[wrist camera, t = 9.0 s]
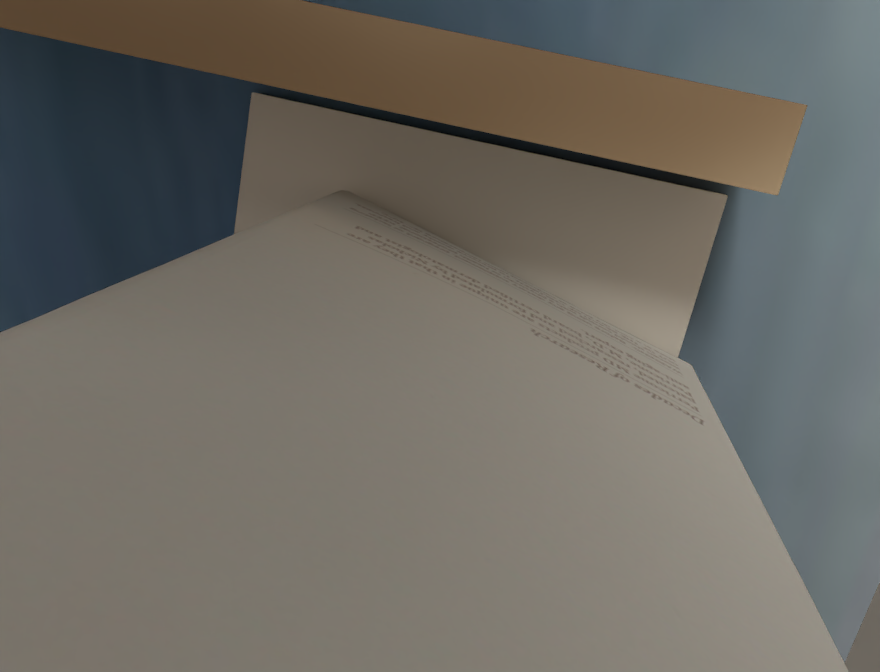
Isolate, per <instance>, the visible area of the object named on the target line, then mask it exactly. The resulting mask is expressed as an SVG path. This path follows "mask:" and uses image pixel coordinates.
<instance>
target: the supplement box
mask: <svg viewBox="0 0 880 672" xmlns="http://www.w3.org/2000/svg"><path fill="white" fill-rule="evenodd" d="M0 672H849V671H848V669H847V667H846V665H845V663H844V661H843V660H842V658H841V656H840V654H839V652H838V650H837V648H836V646H835V644H834V642H833V640H832V638H831V636H830V634H829V632H828V630H827V628H826V626H825V624H824V622H823V620H822V618H821V616H820V614H819V612H818V610H817V608H816V606H815V604H814V602H813V600H812V598H811V596H810V594H809V592H808V590H807V588H806V586H805V584H804V582H803V580H802V578H801V576H800V574H799V573H798V571H797V569H796V567H795V565H794V563H793V562H792V560H791V558H790V556H789V554H788V552H787V550H786V548H785V546H784V544H783V542H782V540H781V538H780V536H779V534H778V532H777V530H776V528H775V526H774V524H773V522H772V520H771V518H770V516H769V515H768V513H767V511H766V509H765V507H764V505H763V503H762V501H761V499H760V497H759V495H758V493H757V491H756V489H755V488H754V486H753V484H752V482H751V480H750V478H749V476H748V474H747V472H746V470H745V468H744V466H743V464H742V462H741V460H740V459H739V457H738V455H737V453H736V451H735V449H734V447H733V445H732V443H731V441H730V439H729V437H728V435H727V433H726V432H725V430H724V428H723V426H722V424H721V422H720V420H719V418H718V416H717V414H716V412H715V410H714V408H713V406H712V404H711V402H710V400H709V398H708V396H707V394H706V392H705V390H704V389H703V387H702V385H701V383H700V381H699V379H698V377H697V375H696V373H695V371H694V369H693V367H692V365H691V364H689V363H687V362H685V361H683V360H681V359H679V358H677V357H675V356H673V355H671V354H669V353H667V352H665V351H663V350H661V349H659V348H657V347H655V346H653V345H651V344H649V343H647V342H646V341H644V340H642V339H640V338H638V337H636V336H634V335H632V334H630V333H628V332H626V331H624V330H622V329H620V328H618V327H616V326H614V325H612V324H610V323H608V322H606V321H604V320H602V319H600V318H598V317H596V316H594V315H592V314H590V313H588V312H586V311H584V310H582V309H580V308H578V307H576V306H574V305H573V304H571V303H569V302H567V301H565V300H563V299H562V298H560V297H558V296H556V295H553V294H551V293H549V292H547V291H545V290H543V289H541V288H539V287H537V286H535V285H533V284H531V283H529V282H527V281H525V280H523V279H521V278H519V277H517V276H515V275H513V274H511V273H510V272H508V271H506V270H504V269H502V268H500V267H497V266H495V265H493V264H491V263H490V262H488V261H486V260H484V259H482V258H480V257H478V256H476V255H474V254H472V253H470V252H468V251H466V250H464V249H462V248H460V247H458V246H456V245H454V244H452V243H450V242H448V241H446V240H445V239H443V238H441V237H439V236H437V235H435V234H433V233H431V232H429V231H427V230H425V229H423V228H421V227H419V226H417V225H415V224H413V223H411V222H409V221H407V220H405V219H403V218H401V217H399V216H397V215H396V214H394V213H392V212H390V211H388V210H386V209H384V208H382V207H380V206H378V205H376V204H374V203H372V202H369V201H367V200H365V199H363V198H361V197H359V196H357V195H355V194H353V193H351V192H349V191H344V190H340V191H337V192H334V193H332V194H330V195H327V196H325V197H323V198H320V199H318V200H316V201H313V202H311V203H308V204H305V205H303V206H300V207H298V208H295V209H293V210H291V211H288V212H286V213H284V214H281V215H279V216H277V217H274V218H272V219H270V220H268V221H265V222H263V223H260V224H258V225H255V226H253V227H251V228H248V229H246V230H244V231H241V232H239V233H236V234H234V235H232V236H229V237H227V238H224V239H222V240H220V241H217V242H215V243H212V244H210V245H208V246H205V247H203V248H200V249H198V250H196V251H193V252H191V253H189V254H187V255H184V256H182V257H179V258H177V259H175V260H172V261H170V262H168V263H165V264H163V265H161V266H158V267H156V268H153V269H151V270H148V271H146V272H143V273H141V274H139V275H136V276H134V277H131V278H129V279H127V280H124V281H122V282H119V283H117V284H114V285H112V286H109V287H107V288H105V289H102V290H100V291H97V292H95V293H93V294H90V295H88V296H85V297H83V298H81V299H78V300H76V301H74V302H71V303H69V304H67V305H64V306H62V307H60V308H58V309H55V310H53V311H51V312H48V313H46V314H44V315H42V316H39V317H37V318H34V319H32V320H29V321H27V322H24V323H22V324H20V325H17V326H15V327H12V328H10V329H7V330H5V331H2V332H0Z"/></svg>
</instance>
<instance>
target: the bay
mask: <svg viewBox="0 0 880 672" xmlns="http://www.w3.org/2000/svg"><path fill="white" fill-rule="evenodd" d="M0 27H1V28H5V29H10V30H15V31H19V32H24V33H28V34H33V35H38V36H42V37H47V38H52V39H56V40H61V41H65V42H70V43H75V44H79V45H84V46H89V47H93V48H98V49H102V50H107V51H112V52H116V53H121V54H126V55H130V56H135V57H139V58H144V59H149V60H153V61H158V62H163V63H167V64H172V65H176V66H181V67H186V68H190V69H195V70H200V71H204V72H209V73H213V74H218V75H223V76H227V77H232V78H237V79H241V80H246V81H250V82H255V83H260V84H264V85H269V86H274V87H278V88H283V89H287V90H292V91H297V92H301V93H306V94H311V95H315V96H320V97H324V98H329V99H334V100H338V101H343V102H348V103H352V104H357V105H361V106H366V107H371V108H375V109H380V110H385V111H389V112H394V113H398V114H403V115H408V116H412V117H417V118H422V119H426V120H431V121H435V122H440V123H445V124H449V125H454V126H459V127H463V128H468V129H472V130H477V131H482V132H486V133H491V134H496V135H500V136H505V137H509V138H514V139H519V140H523V141H528V142H533V143H537V144H542V145H546V146H551V147H556V148H560V149H565V150H570V151H574V152H579V153H583V154H588V155H593V156H597V157H602V158H607V159H611V160H616V161H621V162H625V163H630V164H634V165H639V166H644V167H648V168H653V169H658V170H662V171H667V172H671V173H676V174H681V175H685V176H690V177H695V178H699V179H704V180H708V181H713V182H718V183H722V184H727V185H732V186H736V187H741V188H745V189H750V190H755V191H759V192H764V193H769V194H773V195H778V193H779V190H780V187H781V184H782V181H783V178H784V175H785V172H786V169H787V166H788V163H789V160H790V157H791V154H792V151H793V148H794V145H795V142H796V139H797V136H798V133H799V129H800V126H801V123H802V120H803V117H804V114H805V111H806V108H807V105H804V104H799V103H794V102H789V101H784V100H780V99H775V98H770V97H765V96H760V95H755V94H751V93H746V92H741V91H736V90H731V89H727V88H722V87H717V86H712V85H707V84H702V83H698V82H693V81H688V80H683V79H678V78H674V77H669V76H664V75H659V74H654V73H649V72H645V71H640V70H635V69H630V68H625V67H621V66H616V65H611V64H606V63H601V62H596V61H592V60H587V59H582V58H577V57H572V56H567V55H563V54H558V53H553V52H548V51H543V50H539V49H534V48H529V47H524V46H519V45H514V44H510V43H505V42H500V41H495V40H490V39H486V38H481V37H476V36H471V35H466V34H461V33H457V32H452V31H447V30H442V29H437V28H433V27H428V26H423V25H418V24H413V23H408V22H404V21H399V20H394V19H389V18H384V17H379V16H375V15H370V14H365V13H360V12H355V11H351V10H346V9H341V8H336V7H331V6H326V5H322V4H317V3H312V2H307V1H302V0H0Z"/></svg>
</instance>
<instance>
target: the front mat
mask: <svg viewBox="0 0 880 672" xmlns="http://www.w3.org/2000/svg"><path fill="white" fill-rule="evenodd" d="M340 190H344V191H349V192H351V193H353V194H355V195H357V196H359V197H361V198H363V199H365V200H367V201H369V202H372V203H374V204H376V205H378V206H380V207H382V208H384V209H386V210H388V211H390V212H392V213H394V214H396V215H397V216H399V217H401V218H403V219H405V220H407V221H409V222H411V223H413V224H415V225H417V226H419V227H421V228H423V229H425V230H427V231H429V232H431V233H433V234H435V235H437V236H439V237H441V238H443V239H445V240H446V241H448V242H450V243H452V244H454V245H456V246H458V247H460V248H462V249H464V250H466V251H468V252H470V253H472V254H474V255H476V256H478V257H480V258H482V259H484V260H486V261H488V262H490V263H491V264H493V265H495V266H497V267H500V268H502V269H504V270H506V271H508V272H510V273H511V274H513V275H515V276H517V277H519V278H521V279H523V280H525V281H527V282H529V283H531V284H533V285H535V286H537V287H539V288H541V289H543V290H545V291H547V292H549V293H551V294H553V295H556V296H558V297H560V298H562V299H563V300H565V301H567V302H569V303H571V304H573V305H574V306H576V307H578V308H580V309H582V310H584V311H586V312H588V313H590V314H592V315H594V316H596V317H598V318H600V319H602V320H604V321H606V322H608V323H610V324H612V325H614V326H616V327H618V328H620V329H622V330H624V331H626V332H628V333H630V334H632V335H634V336H636V337H638V338H640V339H642V340H644V341H646V342H647V343H649V344H651V345H653V346H655V347H657V348H659V349H661V350H663V351H665V352H667V353H669V354H671V355H673V356H675V357H677V358H678V356H679V352H680V349H681V346H682V343H683V339H684V336H685V333H686V330H687V327H688V323H689V320H690V317H691V314H692V310H693V307H694V304H695V301H696V297H697V294H698V291H699V288H700V285H701V281H702V278H703V275H704V272H705V268H706V265H707V262H708V259H709V255H710V252H711V249H712V246H713V242H714V239H715V236H716V233H717V230H718V226H719V223H720V220H721V217H722V213H723V210H724V207H725V204H726V200H727V197H728V196H727V195H725V194H721V193H716V192H711V191H707V190H702V189H698V188H693V187H688V186H684V185H679V184H675V183H670V182H665V181H661V180H656V179H652V178H647V177H642V176H638V175H633V174H629V173H624V172H619V171H615V170H610V169H606V168H601V167H596V166H592V165H587V164H583V163H578V162H573V161H569V160H564V159H559V158H555V157H550V156H546V155H541V154H536V153H532V152H527V151H523V150H518V149H513V148H509V147H504V146H500V145H495V144H490V143H486V142H481V141H477V140H472V139H467V138H463V137H458V136H454V135H449V134H444V133H440V132H435V131H431V130H426V129H421V128H417V127H412V126H407V125H403V124H398V123H394V122H389V121H384V120H380V119H375V118H371V117H366V116H361V115H357V114H352V113H348V112H343V111H338V110H334V109H329V108H325V107H320V106H315V105H311V104H306V103H302V102H297V101H292V100H288V99H283V98H279V97H274V96H269V95H265V94H260V93H255V92H252V94H251V102H250V110H249V118H248V126H247V134H246V142H245V150H244V158H243V166H242V174H241V182H240V189H239V197H238V205H237V213H236V221H235V229H234V234H236V233H239V232H241V231H244V230H246V229H248V228H251V227H253V226H255V225H258V224H260V223H263V222H265V221H268V220H270V219H272V218H274V217H277V216H279V215H281V214H284V213H286V212H288V211H291V210H293V209H295V208H298V207H300V206H303V205H305V204H308V203H311V202H313V201H316V200H318V199H320V198H323V197H325V196H327V195H330V194H332V193H334V192H337V191H340Z"/></svg>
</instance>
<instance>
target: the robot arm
mask: <svg viewBox="0 0 880 672" xmlns="http://www.w3.org/2000/svg"><path fill="white" fill-rule="evenodd" d="M845 665H846V667H847V669H848V671H849V672H880V583H879V585H878V587H877V590H876V592H875V594H874V597H873V599H872V601H871V603H870V606H869V608H868V610H867V613H866V615H865V617H864V620H863V622H862V624H861V627H860V629H859V631H858V633H857V636H856V638H855V640H854V643H853V645H852V647H851V650H850V652H849V654H848V657H847V659H846V661H845Z"/></svg>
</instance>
